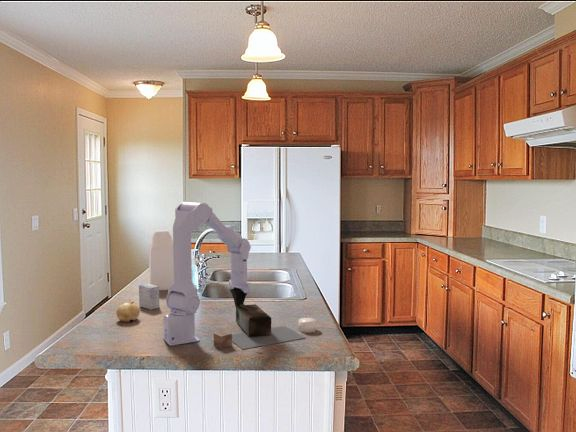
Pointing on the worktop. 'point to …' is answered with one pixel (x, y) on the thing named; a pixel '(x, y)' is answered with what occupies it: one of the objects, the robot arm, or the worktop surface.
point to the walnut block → (222, 339)
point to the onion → (127, 312)
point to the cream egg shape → (307, 325)
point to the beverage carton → (253, 320)
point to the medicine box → (149, 296)
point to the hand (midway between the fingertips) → (239, 308)
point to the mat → (265, 338)
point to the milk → (161, 260)
